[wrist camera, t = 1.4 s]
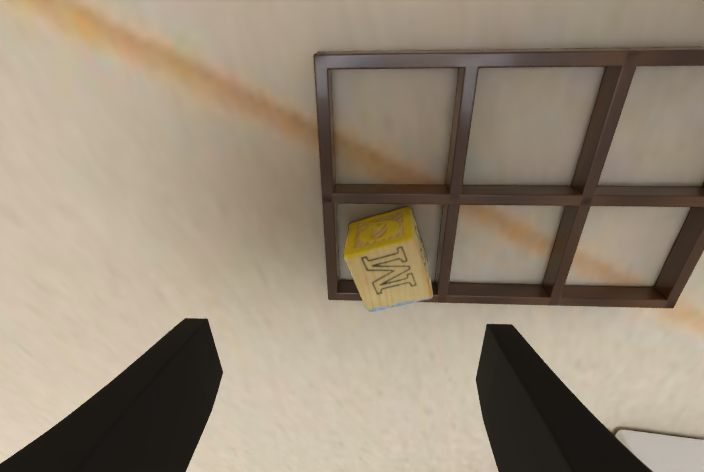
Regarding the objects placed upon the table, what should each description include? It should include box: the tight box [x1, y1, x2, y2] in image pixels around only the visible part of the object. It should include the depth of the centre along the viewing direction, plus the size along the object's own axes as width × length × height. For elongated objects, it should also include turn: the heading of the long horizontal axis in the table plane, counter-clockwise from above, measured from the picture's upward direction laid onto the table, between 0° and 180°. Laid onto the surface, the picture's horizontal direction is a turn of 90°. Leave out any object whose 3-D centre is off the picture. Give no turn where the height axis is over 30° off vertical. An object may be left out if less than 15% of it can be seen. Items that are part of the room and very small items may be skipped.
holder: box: [314, 47, 704, 308], centre depth 16 cm, size 16×11×1 cm
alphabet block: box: [344, 207, 433, 311], centre depth 17 cm, size 3×3×3 cm
